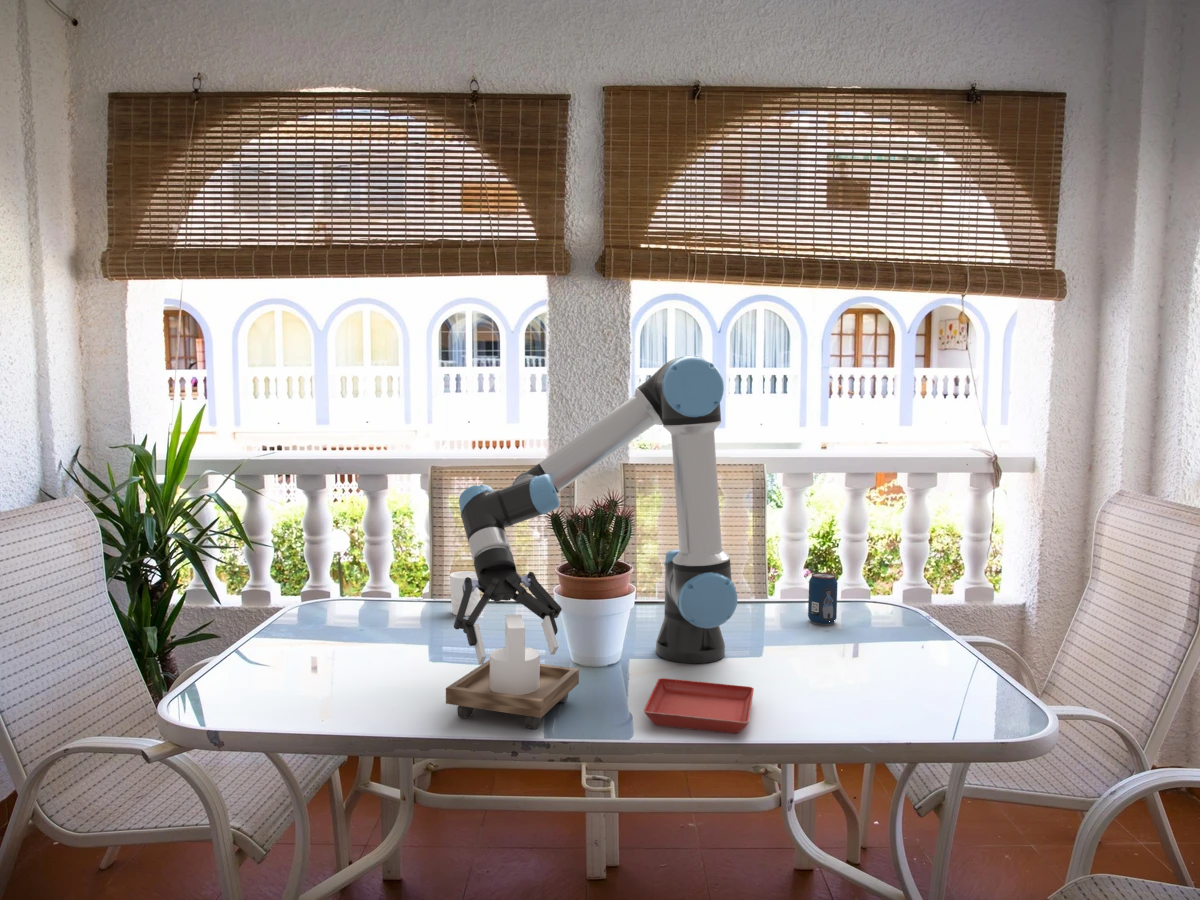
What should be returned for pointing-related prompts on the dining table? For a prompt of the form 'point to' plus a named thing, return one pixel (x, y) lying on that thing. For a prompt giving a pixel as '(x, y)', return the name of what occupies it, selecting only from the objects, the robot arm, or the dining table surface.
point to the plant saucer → (700, 705)
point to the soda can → (822, 598)
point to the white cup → (457, 591)
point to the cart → (534, 705)
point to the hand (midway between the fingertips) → (519, 655)
